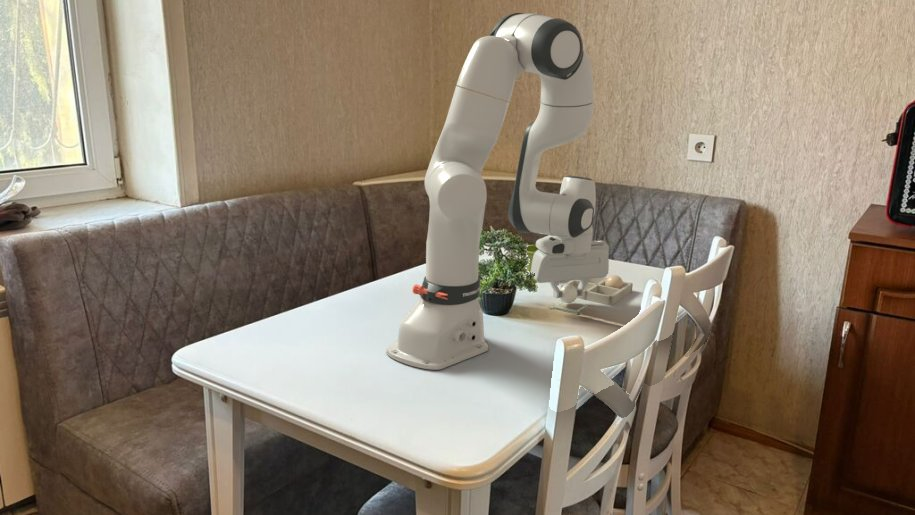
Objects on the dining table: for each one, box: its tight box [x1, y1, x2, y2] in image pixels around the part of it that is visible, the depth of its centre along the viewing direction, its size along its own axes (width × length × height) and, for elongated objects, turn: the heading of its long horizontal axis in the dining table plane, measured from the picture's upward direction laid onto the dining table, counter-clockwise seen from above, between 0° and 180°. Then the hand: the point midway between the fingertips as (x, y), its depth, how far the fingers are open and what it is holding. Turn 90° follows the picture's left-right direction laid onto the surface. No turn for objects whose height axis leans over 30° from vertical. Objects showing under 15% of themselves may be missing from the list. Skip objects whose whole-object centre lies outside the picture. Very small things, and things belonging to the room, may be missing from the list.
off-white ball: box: [559, 285, 578, 304], centre depth 169 cm, size 5×5×5 cm
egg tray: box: [560, 277, 633, 307], centre depth 179 cm, size 14×14×3 cm
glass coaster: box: [553, 300, 589, 316], centre depth 170 cm, size 6×6×1 cm
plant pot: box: [526, 244, 539, 272], centre depth 191 cm, size 9×9×9 cm
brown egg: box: [605, 274, 624, 289], centre depth 180 cm, size 5×5×5 cm
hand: (568, 296), depth 170 cm, fingers closed on off-white ball, 5 cm apart
